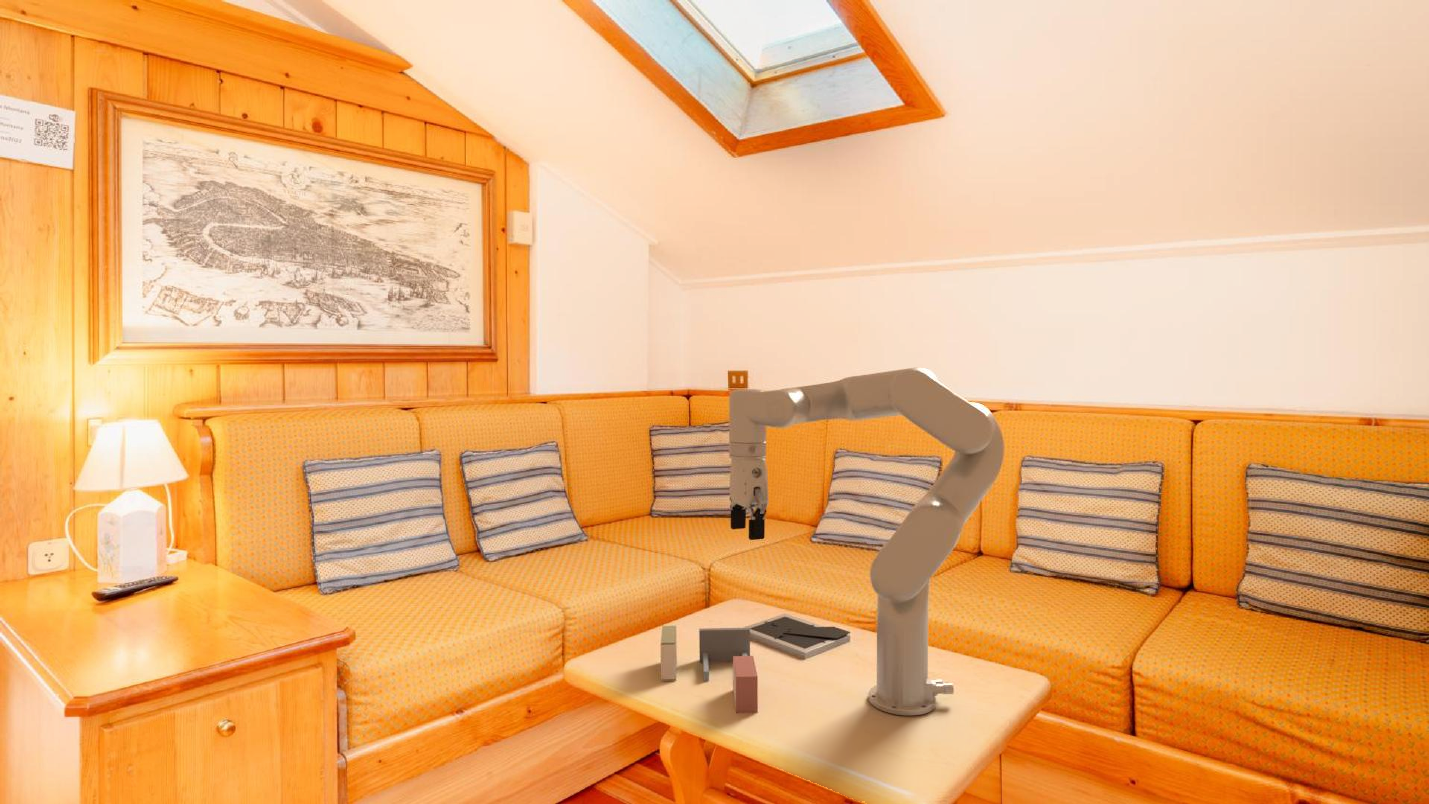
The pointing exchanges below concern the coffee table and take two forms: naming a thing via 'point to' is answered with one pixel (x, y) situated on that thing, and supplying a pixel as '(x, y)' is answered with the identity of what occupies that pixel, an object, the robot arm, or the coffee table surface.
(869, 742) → the coffee table surface
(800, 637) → the picture frame
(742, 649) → the shelf slot
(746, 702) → the reddish pink rectangular block
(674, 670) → the olive rectangular block
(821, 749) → the coffee table surface
